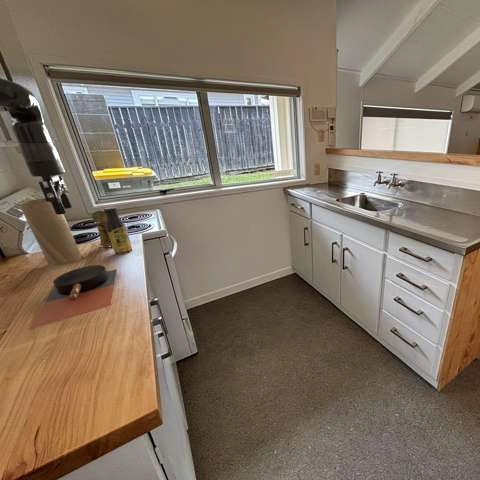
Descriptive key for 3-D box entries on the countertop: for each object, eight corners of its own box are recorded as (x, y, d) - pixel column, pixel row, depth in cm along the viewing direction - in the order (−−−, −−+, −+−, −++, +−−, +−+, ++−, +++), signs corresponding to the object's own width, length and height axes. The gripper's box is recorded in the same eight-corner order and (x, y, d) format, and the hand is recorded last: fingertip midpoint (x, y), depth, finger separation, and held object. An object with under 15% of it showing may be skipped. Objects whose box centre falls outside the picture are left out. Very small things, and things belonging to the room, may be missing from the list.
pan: (45, 315, 70) (39, 304, 69) (63, 281, 87) (58, 272, 86) (104, 298, 77) (99, 288, 76) (110, 270, 94) (107, 261, 92)
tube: (58, 268, 98) (27, 205, 89) (43, 265, 102) (12, 203, 92) (87, 257, 107) (62, 198, 97) (73, 254, 110) (47, 197, 101)
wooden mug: (99, 253, 111) (83, 213, 104) (102, 243, 121) (87, 206, 114) (124, 247, 115) (111, 209, 108) (124, 239, 126) (112, 203, 119)
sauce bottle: (122, 257, 106) (105, 210, 98) (112, 255, 108) (94, 209, 100) (137, 250, 112) (122, 206, 104) (127, 249, 113) (111, 205, 106)
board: (29, 332, 65) (28, 329, 65) (56, 285, 86) (55, 283, 86) (111, 307, 74) (110, 305, 74) (118, 270, 95) (117, 268, 95)
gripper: (33, 158, 81) (55, 208, 87) (15, 161, 70) (42, 218, 76) (64, 156, 84) (83, 204, 91) (52, 159, 73) (75, 213, 79)
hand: (64, 211), depth 83 cm, fingers open, 8 cm apart
